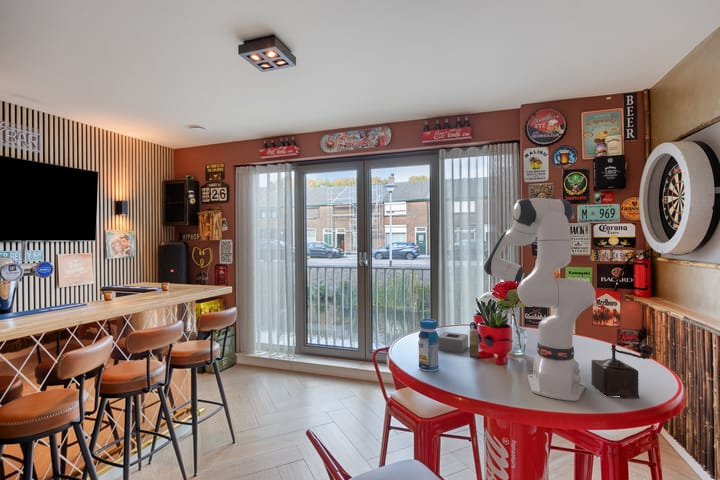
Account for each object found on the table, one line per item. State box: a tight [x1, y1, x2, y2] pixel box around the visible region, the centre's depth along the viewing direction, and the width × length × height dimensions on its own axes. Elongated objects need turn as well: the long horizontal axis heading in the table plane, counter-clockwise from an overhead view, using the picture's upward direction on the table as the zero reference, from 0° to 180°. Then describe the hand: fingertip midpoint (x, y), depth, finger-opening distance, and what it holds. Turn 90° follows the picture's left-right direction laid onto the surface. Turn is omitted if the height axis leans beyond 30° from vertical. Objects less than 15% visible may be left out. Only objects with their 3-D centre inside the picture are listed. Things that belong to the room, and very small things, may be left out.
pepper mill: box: [590, 343, 655, 398], centre depth 123 cm, size 16×11×18 cm
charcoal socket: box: [438, 331, 469, 354], centre depth 175 cm, size 12×12×6 cm
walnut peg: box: [469, 328, 480, 359], centre depth 162 cm, size 4×4×12 cm
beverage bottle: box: [417, 318, 440, 373], centre depth 147 cm, size 8×8×20 cm
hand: (490, 316), depth 168 cm, fingers open, 8 cm apart
